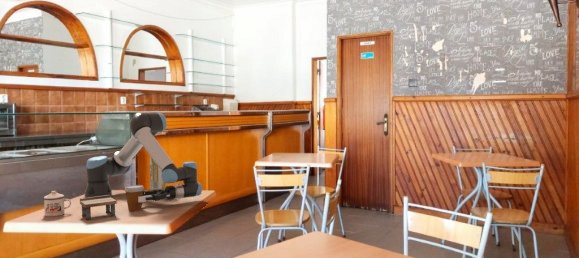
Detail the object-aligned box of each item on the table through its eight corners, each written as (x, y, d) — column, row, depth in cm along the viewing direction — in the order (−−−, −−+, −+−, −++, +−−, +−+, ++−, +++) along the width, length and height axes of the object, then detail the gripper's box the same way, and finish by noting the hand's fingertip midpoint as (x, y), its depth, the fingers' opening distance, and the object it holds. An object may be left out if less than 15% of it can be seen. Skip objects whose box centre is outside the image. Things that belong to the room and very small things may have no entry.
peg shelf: (80, 215, 210) (79, 198, 210) (110, 211, 219) (109, 194, 218) (85, 220, 201) (85, 202, 200) (117, 216, 209) (116, 198, 209)
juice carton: (162, 195, 257) (161, 155, 256) (149, 195, 258) (148, 155, 256) (167, 192, 267) (166, 154, 266) (154, 192, 267) (153, 154, 266)
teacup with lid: (42, 217, 208) (42, 193, 207) (45, 213, 216) (44, 190, 216) (70, 214, 213) (70, 191, 212) (72, 211, 221) (71, 188, 220)
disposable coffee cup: (138, 212, 217) (137, 188, 216) (121, 211, 219) (120, 187, 218) (148, 207, 226) (147, 185, 225) (131, 207, 228) (131, 184, 227)
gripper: (165, 182, 244) (126, 186, 232) (183, 188, 225) (142, 193, 212) (165, 195, 245) (127, 200, 232) (183, 202, 225) (142, 209, 212)
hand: (134, 197), depth 222 cm, fingers open, 13 cm apart
